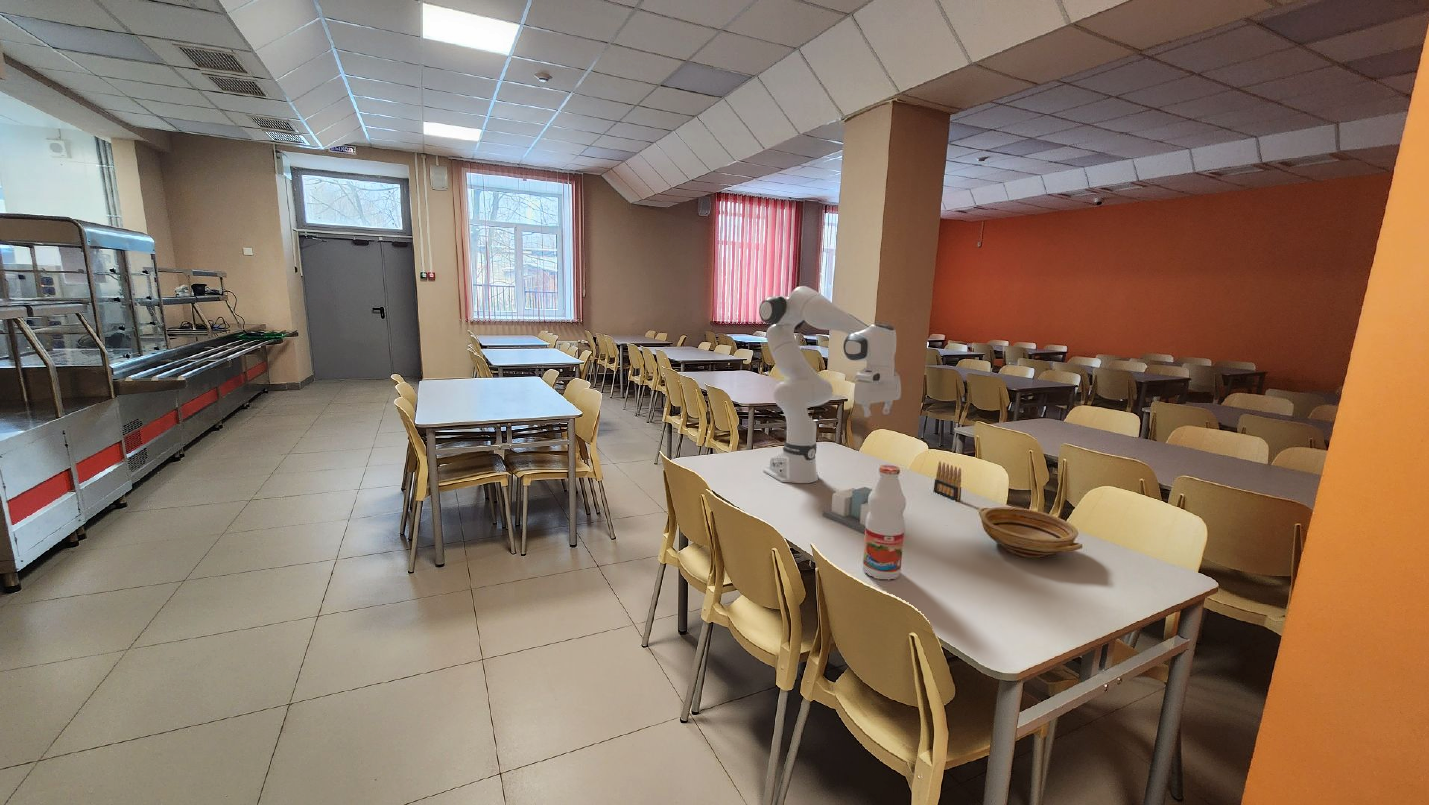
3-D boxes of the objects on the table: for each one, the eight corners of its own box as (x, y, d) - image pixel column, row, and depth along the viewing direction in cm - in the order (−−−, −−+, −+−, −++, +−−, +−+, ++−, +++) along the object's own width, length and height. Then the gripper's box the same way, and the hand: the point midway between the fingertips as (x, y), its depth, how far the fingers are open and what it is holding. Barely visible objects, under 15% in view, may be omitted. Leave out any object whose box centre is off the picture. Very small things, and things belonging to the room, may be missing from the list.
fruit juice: (897, 565, 148) (905, 463, 143) (903, 583, 139) (913, 474, 134) (860, 562, 149) (867, 460, 144) (864, 579, 140) (872, 471, 135)
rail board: (822, 515, 181) (824, 493, 180) (851, 506, 189) (853, 485, 188) (873, 537, 165) (875, 513, 164) (902, 526, 173) (904, 503, 172)
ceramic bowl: (951, 535, 168) (954, 510, 166) (1006, 523, 178) (1009, 499, 177) (1046, 580, 142) (1050, 551, 140) (1104, 562, 152) (1108, 535, 151)
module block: (850, 514, 177) (852, 490, 175) (863, 510, 180) (865, 486, 179) (861, 518, 174) (862, 494, 172) (873, 514, 177) (875, 490, 176)
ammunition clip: (960, 501, 197) (964, 468, 195) (956, 501, 196) (960, 468, 194) (936, 491, 207) (939, 460, 204) (933, 492, 206) (936, 460, 204)
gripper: (891, 370, 192) (888, 410, 195) (851, 374, 180) (849, 416, 183) (907, 372, 187) (904, 413, 190) (867, 376, 175) (864, 420, 178)
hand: (876, 415), depth 186 cm, fingers open, 8 cm apart
